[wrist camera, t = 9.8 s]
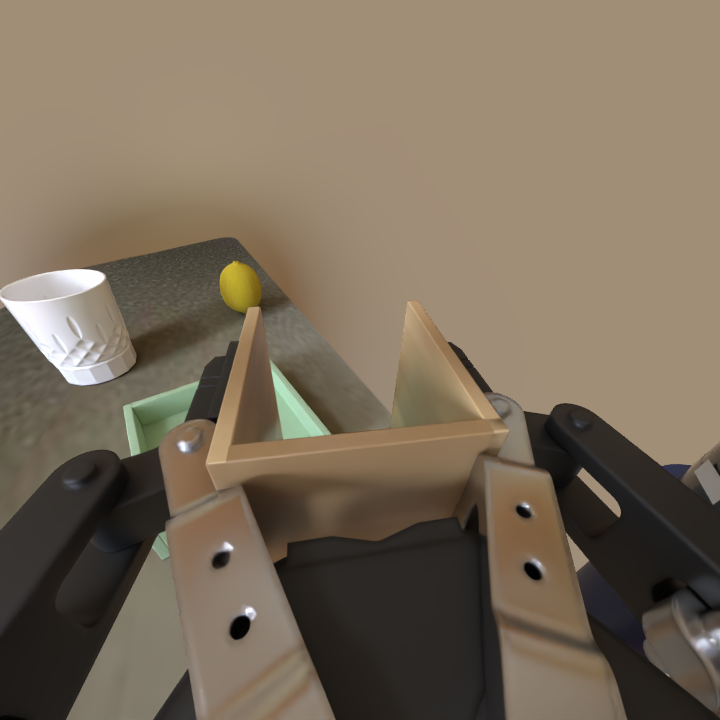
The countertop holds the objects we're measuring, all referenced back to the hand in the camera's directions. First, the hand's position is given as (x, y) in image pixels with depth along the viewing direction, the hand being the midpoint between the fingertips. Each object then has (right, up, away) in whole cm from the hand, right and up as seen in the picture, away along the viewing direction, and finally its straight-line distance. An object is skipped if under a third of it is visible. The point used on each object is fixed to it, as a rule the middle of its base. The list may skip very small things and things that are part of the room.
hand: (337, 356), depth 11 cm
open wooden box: (0, -7, +2) cm, 7 cm away
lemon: (-16, +7, +35) cm, 40 cm away
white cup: (-29, -1, +24) cm, 37 cm away
